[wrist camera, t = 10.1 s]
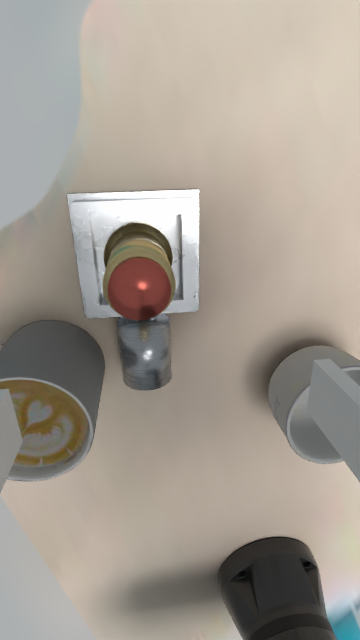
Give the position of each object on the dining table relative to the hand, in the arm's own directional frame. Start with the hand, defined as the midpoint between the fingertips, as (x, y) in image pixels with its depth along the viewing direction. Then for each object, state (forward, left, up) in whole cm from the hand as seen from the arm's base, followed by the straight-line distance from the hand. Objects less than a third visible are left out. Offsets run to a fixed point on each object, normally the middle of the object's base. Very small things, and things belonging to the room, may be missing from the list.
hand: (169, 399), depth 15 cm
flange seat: (-1, +1, -19) cm, 19 cm away
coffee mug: (-9, +12, -19) cm, 24 cm away
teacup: (-14, -18, -19) cm, 30 cm away
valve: (+2, +1, -18) cm, 19 cm away
